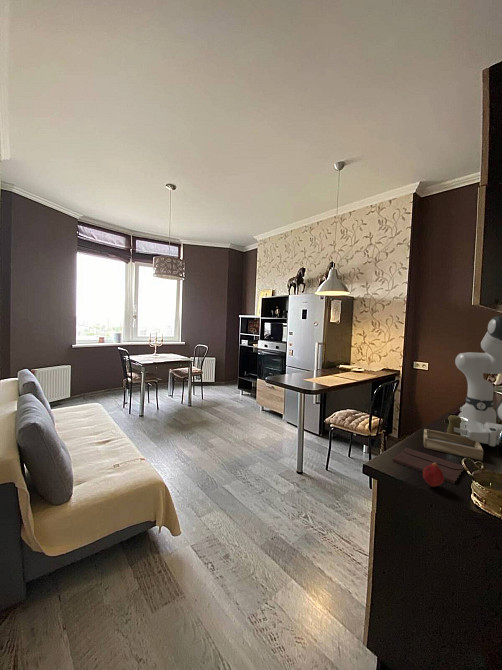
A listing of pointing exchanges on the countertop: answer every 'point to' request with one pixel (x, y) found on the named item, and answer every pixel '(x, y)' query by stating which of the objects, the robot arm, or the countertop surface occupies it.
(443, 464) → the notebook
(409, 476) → the countertop surface
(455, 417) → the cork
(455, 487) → the countertop surface
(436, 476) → the onion
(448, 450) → the tray
